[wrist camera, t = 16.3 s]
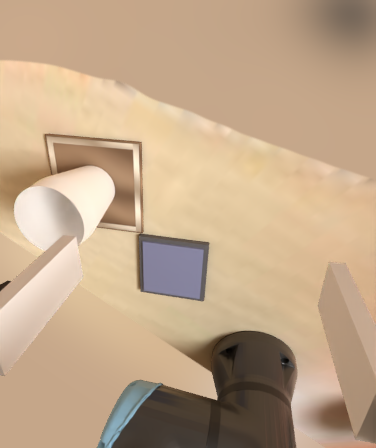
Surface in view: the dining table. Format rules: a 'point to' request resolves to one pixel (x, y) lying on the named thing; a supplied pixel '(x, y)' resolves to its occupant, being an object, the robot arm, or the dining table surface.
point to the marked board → (113, 165)
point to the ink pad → (173, 266)
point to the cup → (64, 205)
